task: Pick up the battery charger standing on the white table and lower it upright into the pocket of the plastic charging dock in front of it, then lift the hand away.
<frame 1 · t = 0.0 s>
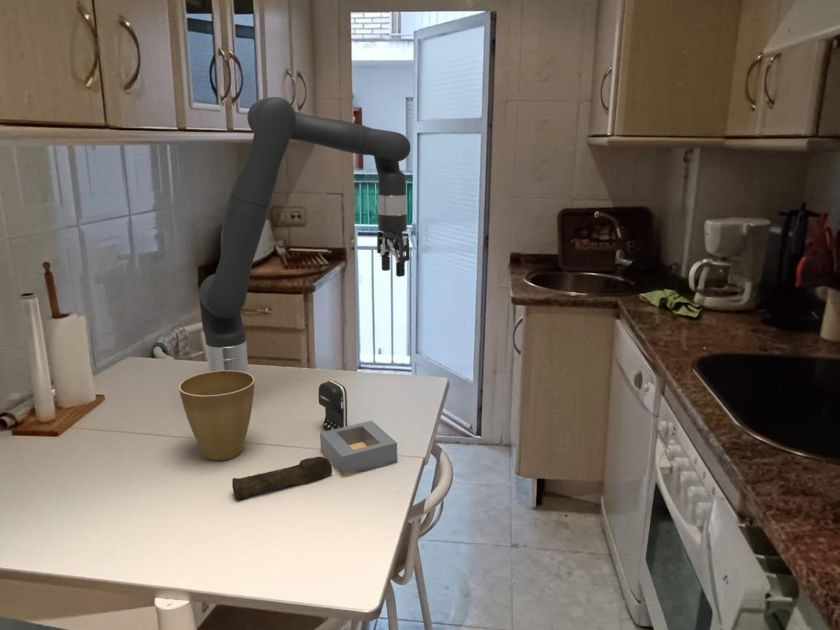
hand: (393, 273, 169), 29 cm above the table, tool pointing down, fingers open, 8 cm apart
dock: (358, 457, 132), on the table
battery charger: (333, 431, 144), on the table
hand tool: (283, 486, 121), on the table
plant pot: (223, 453, 134), on the table
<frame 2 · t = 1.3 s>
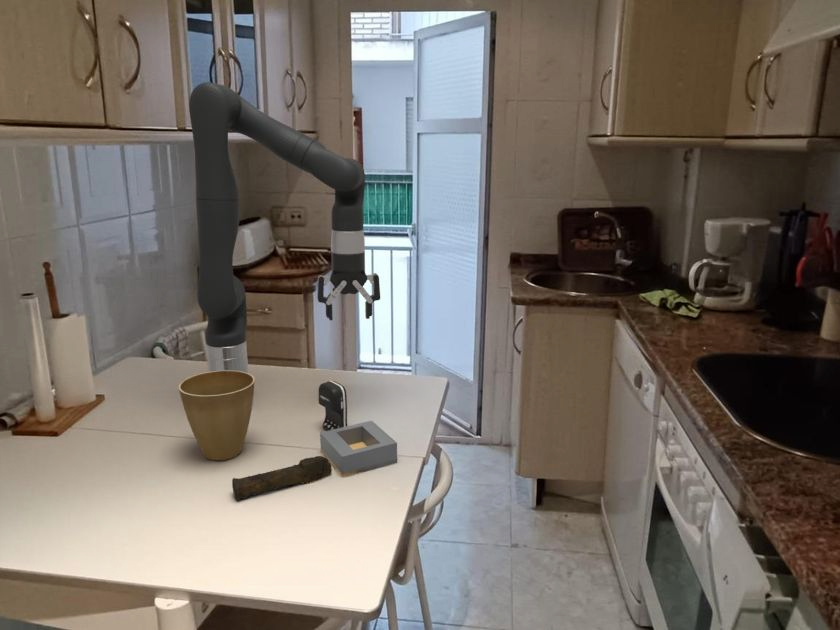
hand: (349, 318, 147), 24 cm above the table, tool pointing down, fingers open, 8 cm apart
nothing on the table moved.
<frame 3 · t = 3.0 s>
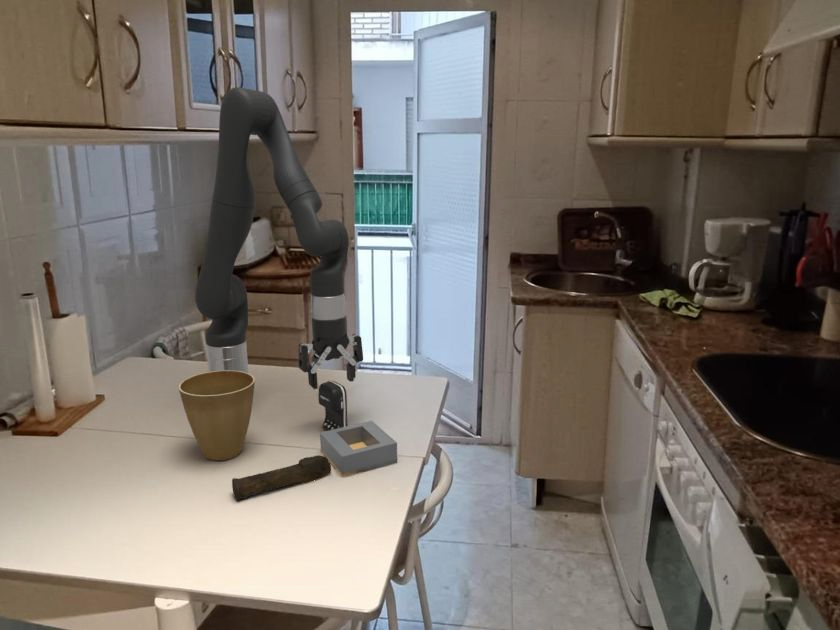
hand: (332, 384, 141), 11 cm above the table, tool pointing down, fingers open, 8 cm apart
nothing on the table moved.
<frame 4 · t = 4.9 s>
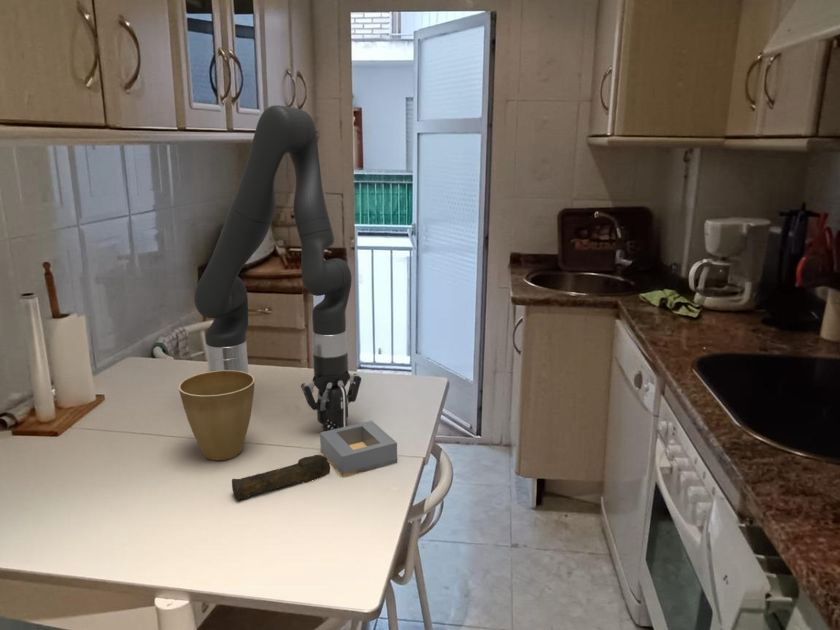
hand: (333, 421, 143), 2 cm above the table, tool pointing down, fingers closed on battery charger, 4 cm apart
battery charger: (333, 431, 144), on the table, touching gripper
everything else where it was.
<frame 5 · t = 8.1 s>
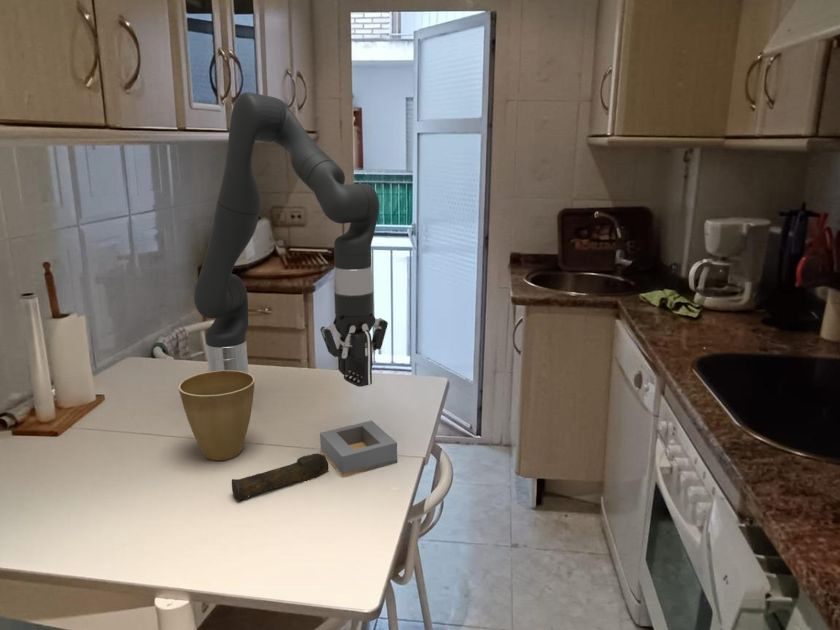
hand: (355, 371, 127), 19 cm above the table, tool pointing down, fingers closed on battery charger, 4 cm apart
battery charger: (355, 383, 127), point 16 cm above the table, touching gripper
everything else where it was.
when the fingers open (6 cm above the table, at t = 11.2 s): battery charger drops 2 cm, resting on dock.
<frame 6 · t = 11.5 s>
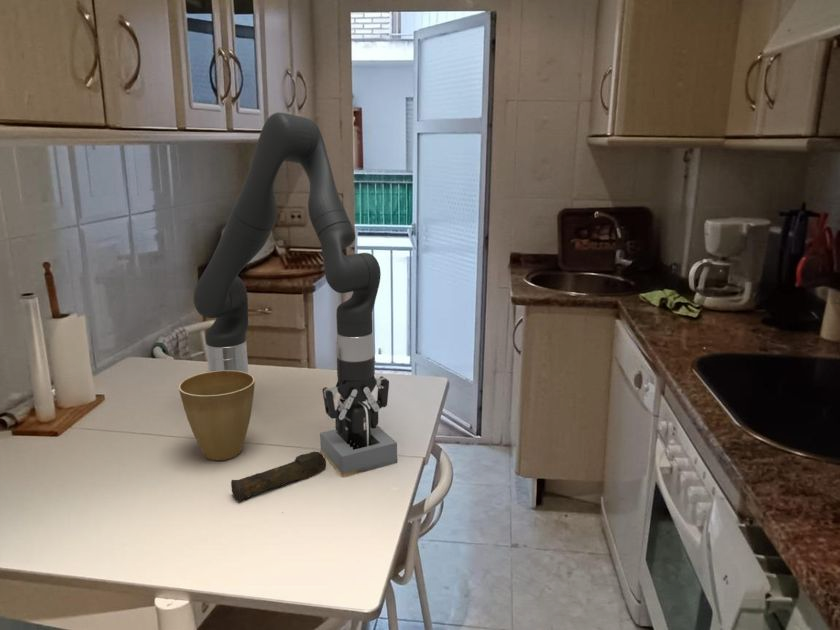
hand: (357, 430, 130), 6 cm above the table, tool pointing down, fingers open, 6 cm apart
battery charger: (355, 454, 132), point 1 cm above the table, touching dock
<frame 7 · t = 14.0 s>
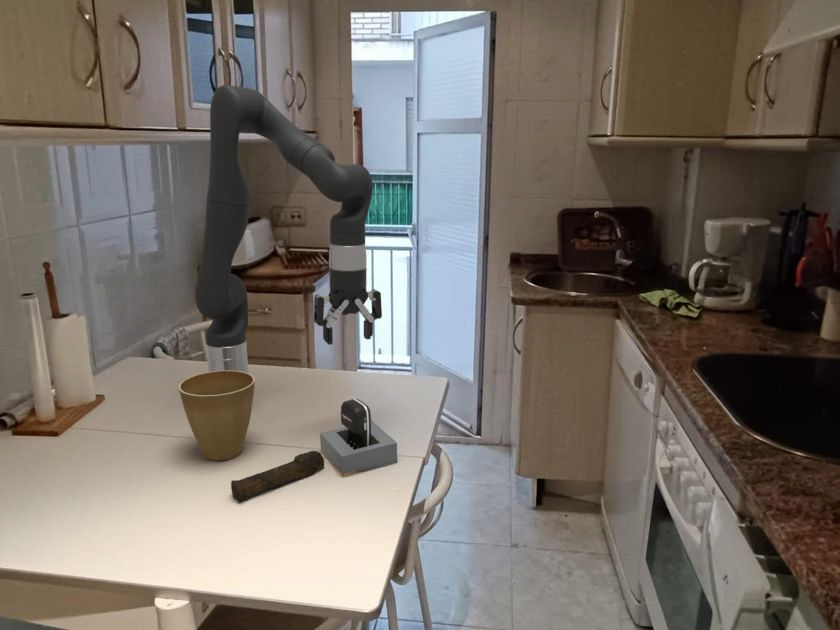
hand: (348, 341, 133), 23 cm above the table, tool pointing down, fingers open, 8 cm apart
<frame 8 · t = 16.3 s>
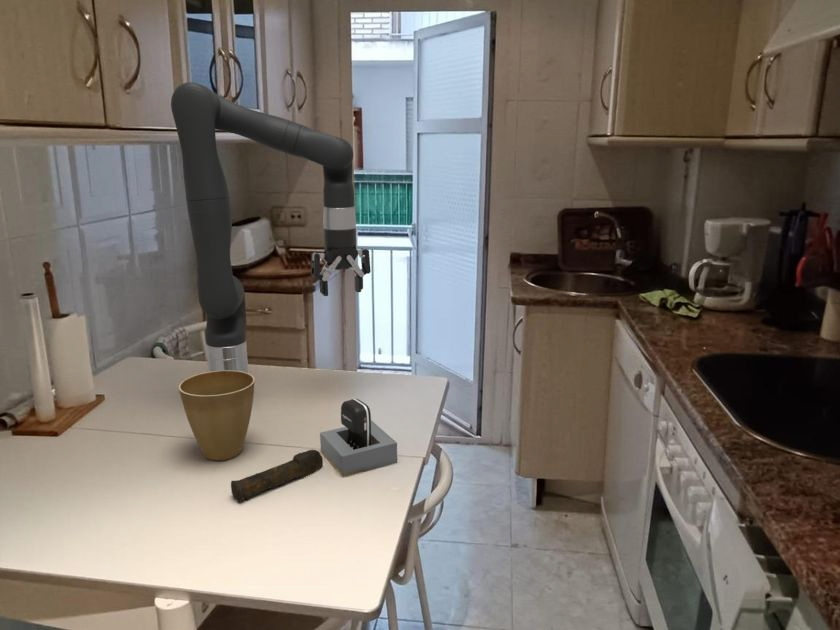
hand: (342, 293, 152), 28 cm above the table, tool pointing down, fingers open, 8 cm apart
at the end: battery charger 0.5 cm off-centre on the dock, point 0.6 cm above the dock's base; battery charger tilted 0°; the gripper is holding nothing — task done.
